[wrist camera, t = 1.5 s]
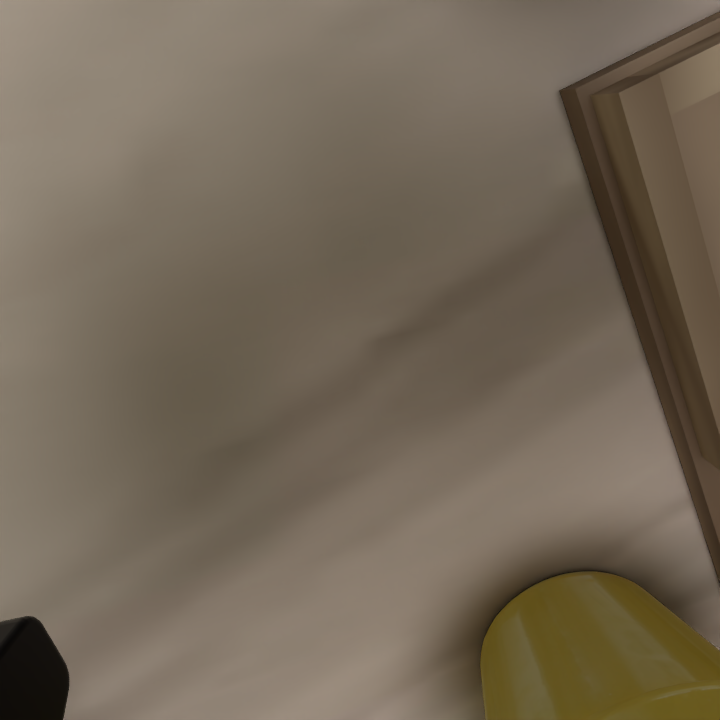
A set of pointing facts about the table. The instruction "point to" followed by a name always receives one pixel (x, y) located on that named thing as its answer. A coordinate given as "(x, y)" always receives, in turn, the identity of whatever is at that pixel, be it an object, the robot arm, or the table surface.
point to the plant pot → (596, 656)
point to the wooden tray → (666, 228)
